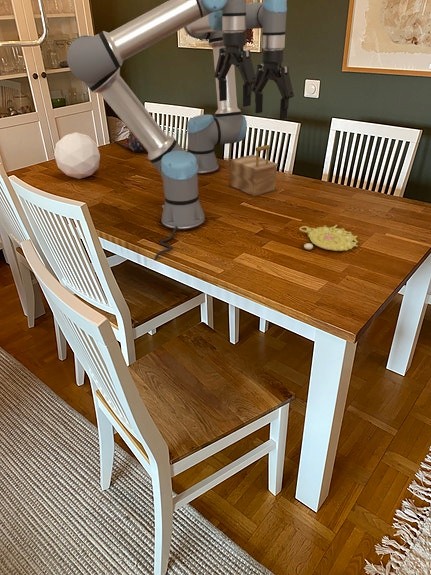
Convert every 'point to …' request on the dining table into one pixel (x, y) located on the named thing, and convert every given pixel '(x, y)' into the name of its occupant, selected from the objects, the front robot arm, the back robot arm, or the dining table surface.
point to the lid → (255, 160)
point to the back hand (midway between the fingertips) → (270, 115)
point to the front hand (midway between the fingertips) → (234, 103)
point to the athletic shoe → (134, 144)
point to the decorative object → (330, 238)
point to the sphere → (77, 155)
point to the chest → (253, 179)
